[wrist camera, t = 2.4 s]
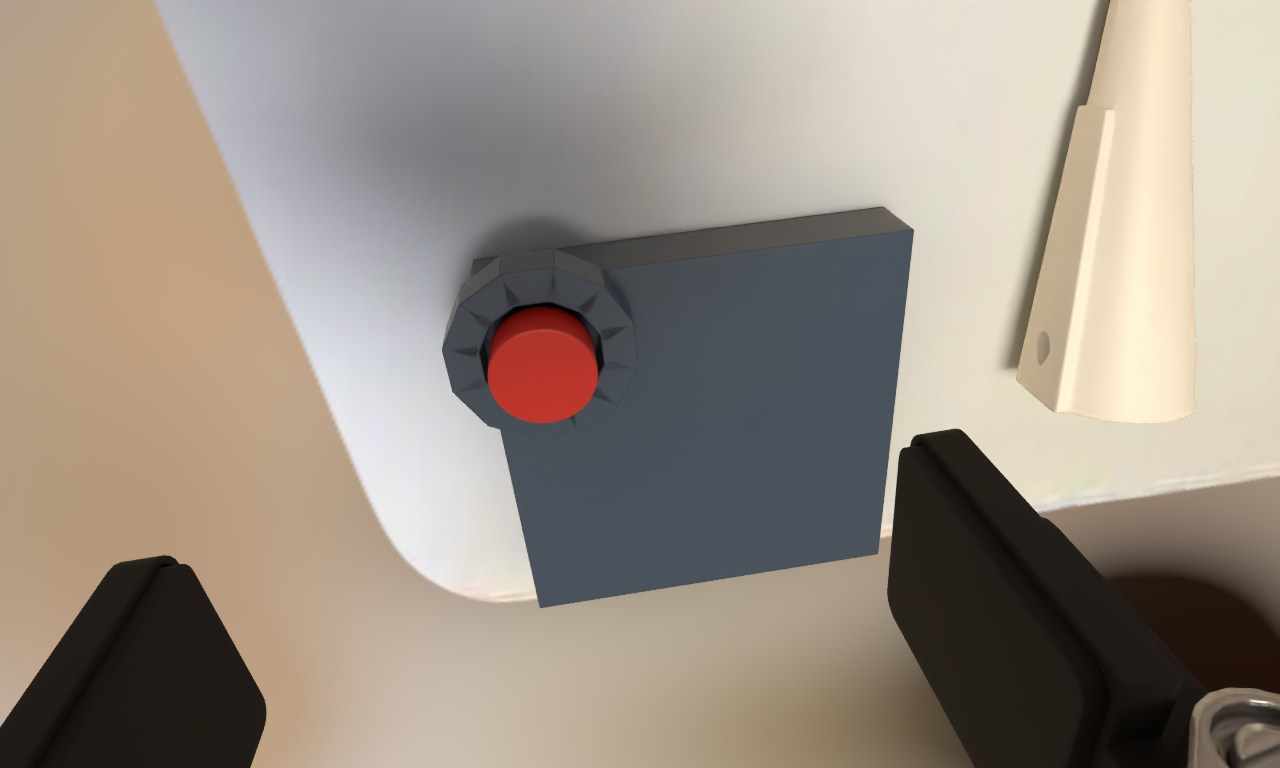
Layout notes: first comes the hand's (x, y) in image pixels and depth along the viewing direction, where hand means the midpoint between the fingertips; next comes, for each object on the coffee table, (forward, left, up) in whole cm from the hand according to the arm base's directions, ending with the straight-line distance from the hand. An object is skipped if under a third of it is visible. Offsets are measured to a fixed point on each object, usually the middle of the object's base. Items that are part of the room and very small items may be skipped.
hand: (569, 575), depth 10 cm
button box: (+9, -8, -20) cm, 23 cm away
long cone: (+21, +8, -20) cm, 30 cm away
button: (+1, -5, -16) cm, 16 cm away
